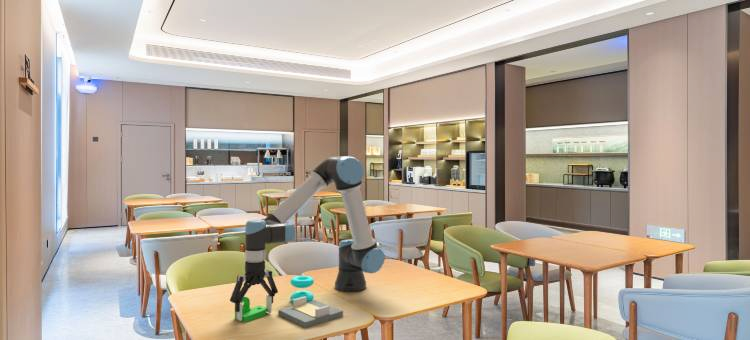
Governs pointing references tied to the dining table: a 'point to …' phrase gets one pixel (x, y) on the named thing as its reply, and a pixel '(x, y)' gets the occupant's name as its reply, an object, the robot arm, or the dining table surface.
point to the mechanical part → (250, 311)
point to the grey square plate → (309, 312)
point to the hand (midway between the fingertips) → (254, 315)
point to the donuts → (302, 283)
